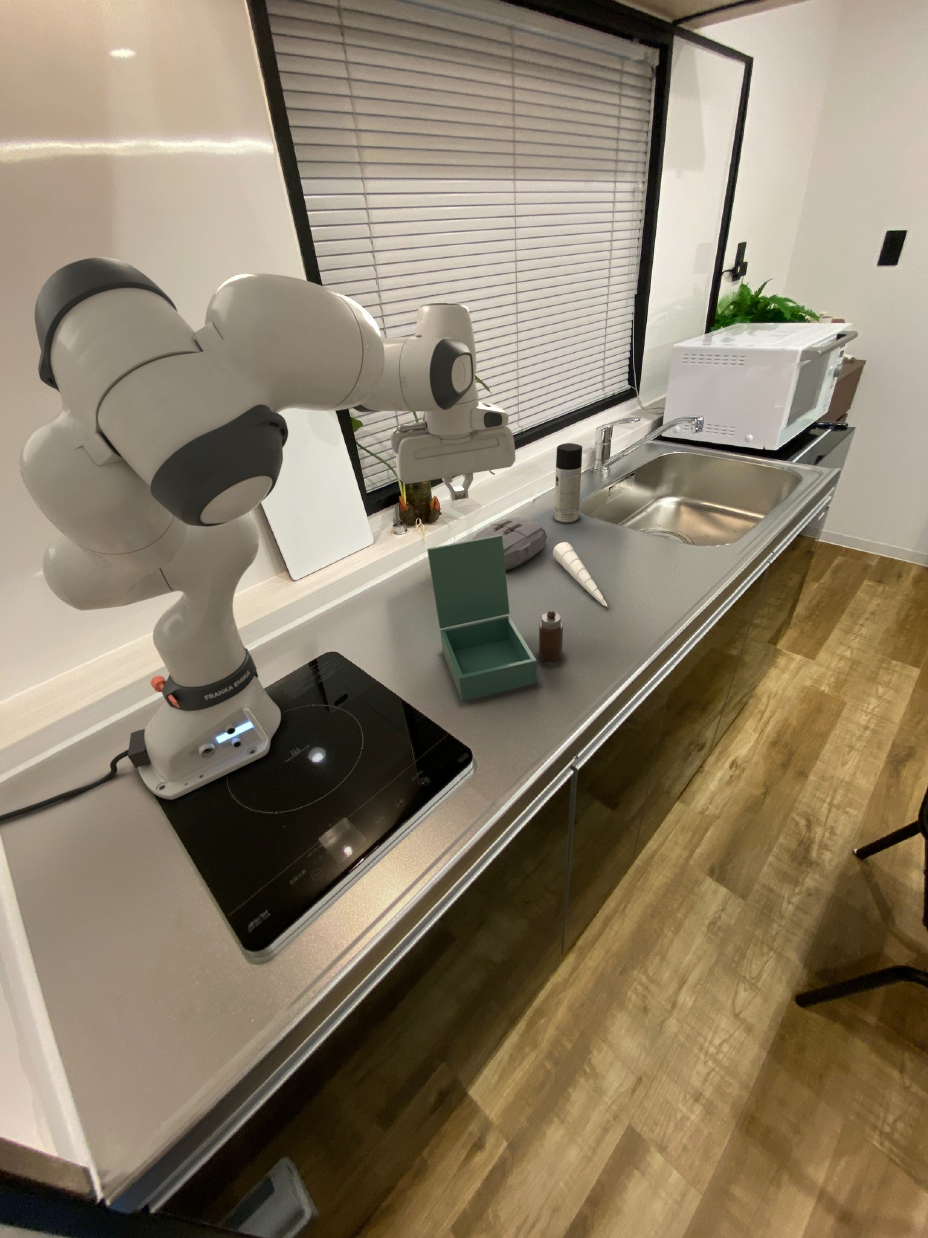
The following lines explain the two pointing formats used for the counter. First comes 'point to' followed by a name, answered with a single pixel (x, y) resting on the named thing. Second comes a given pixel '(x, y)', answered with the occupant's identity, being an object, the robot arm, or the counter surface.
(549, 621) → the pepper mill
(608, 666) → the counter surface
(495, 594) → the lid
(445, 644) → the chest
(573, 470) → the spray can
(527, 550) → the grey rounded bag
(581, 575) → the unicorn horn
